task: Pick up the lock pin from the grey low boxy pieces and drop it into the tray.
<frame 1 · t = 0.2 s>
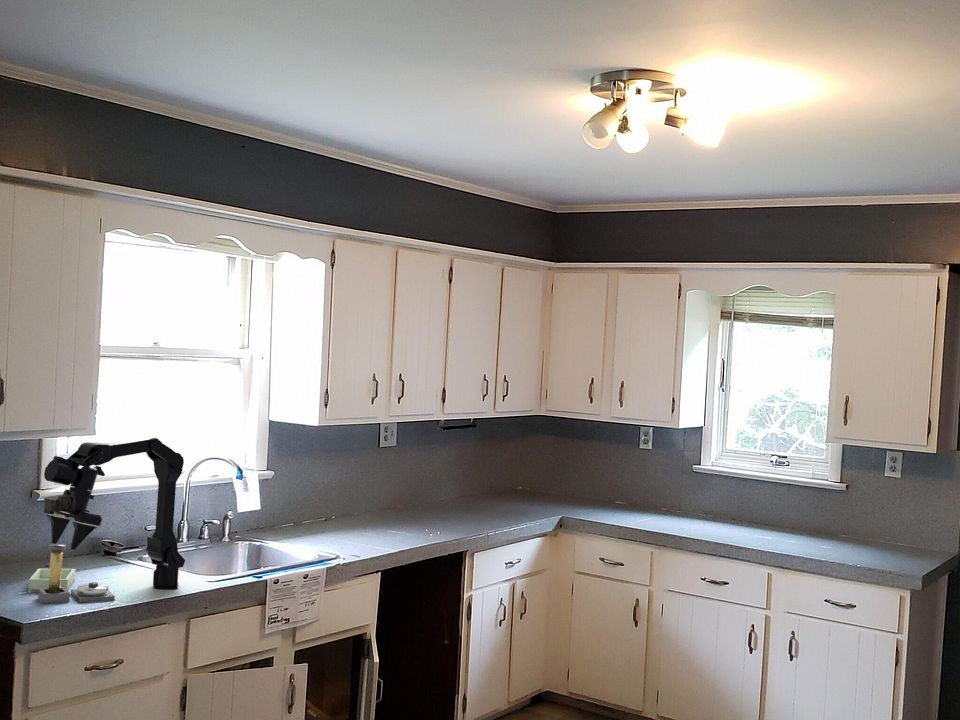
hand: (63, 546, 262), 15 cm above the table, tool tilted 15°, fingers open, 9 cm apart
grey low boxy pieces: (53, 600, 266), on the table
lock pin: (53, 600, 266), resting in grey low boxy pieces
tray: (52, 586, 281), on the table
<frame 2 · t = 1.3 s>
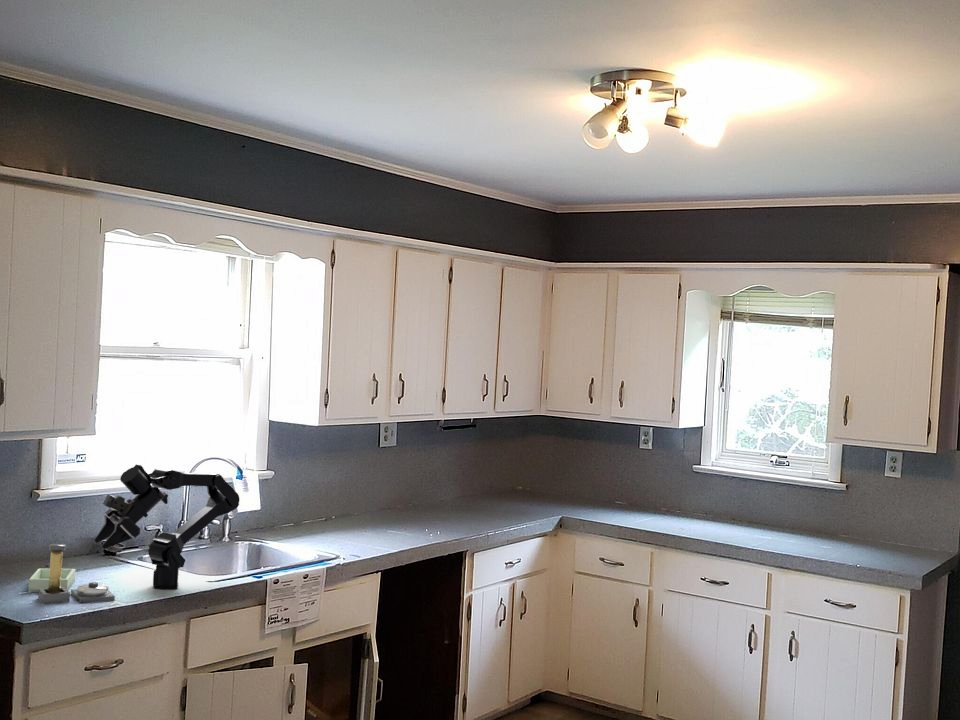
hand: (99, 544, 276), 14 cm above the table, tool tilted 45°, fingers open, 9 cm apart
nothing on the table moved.
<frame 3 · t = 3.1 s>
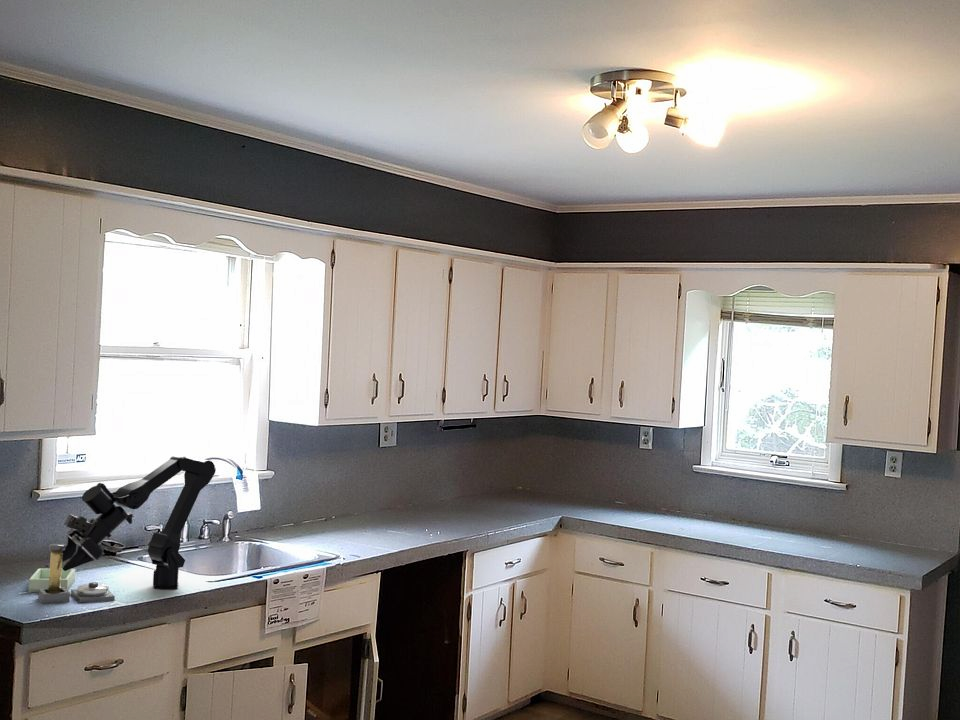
hand: (59, 566, 267), 9 cm above the table, tool tilted 45°, fingers open, 9 cm apart
nothing on the table moved.
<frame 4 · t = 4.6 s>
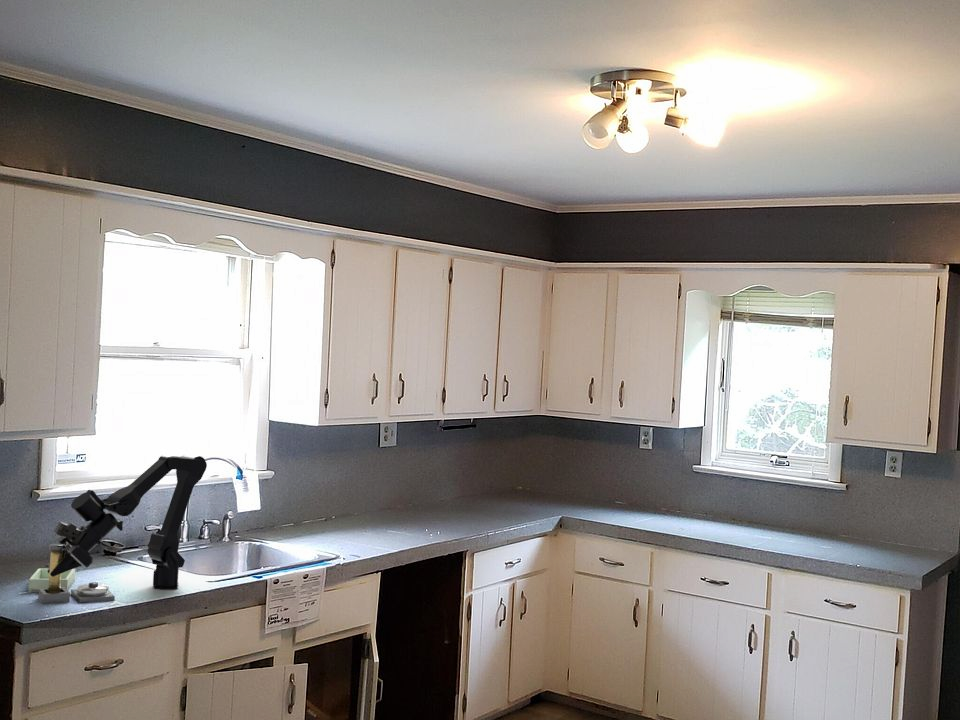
hand: (49, 574, 265), 7 cm above the table, tool tilted 45°, fingers closed on lock pin, 3 cm apart
lock pin: (53, 600, 266), resting in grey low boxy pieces, touching gripper
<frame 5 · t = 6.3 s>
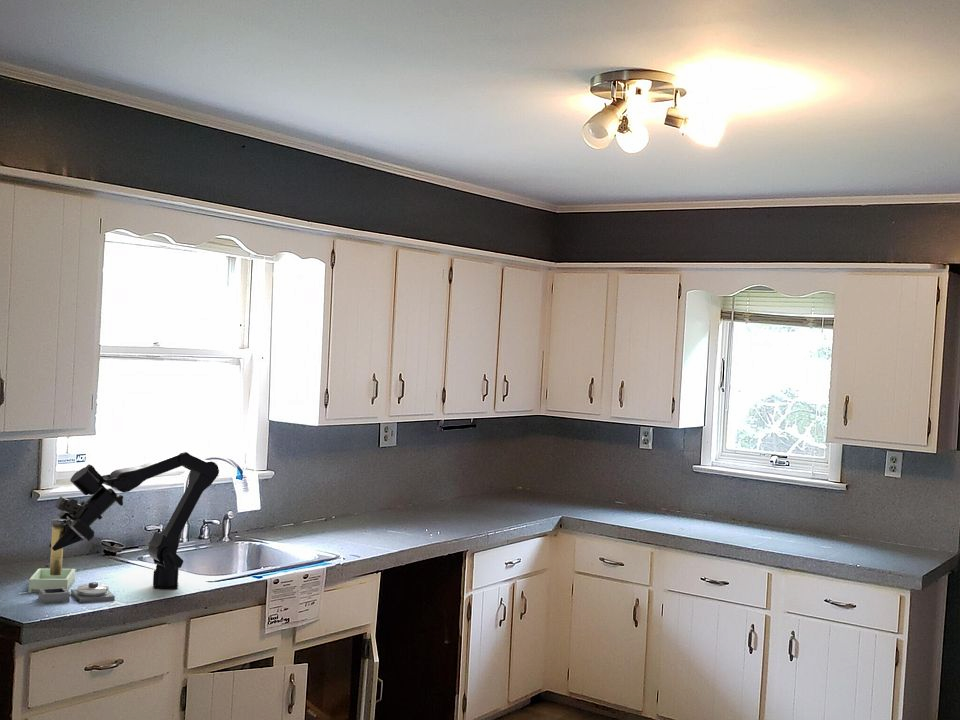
hand: (51, 548, 269), 13 cm above the table, tool tilted 45°, fingers closed on lock pin, 3 cm apart
lock pin: (55, 574, 270), point 6 cm above the table, touching gripper
when the fingers open (9 cm above the table, at t = 7.9 s): lock pin drops 2 cm, resting on tray.
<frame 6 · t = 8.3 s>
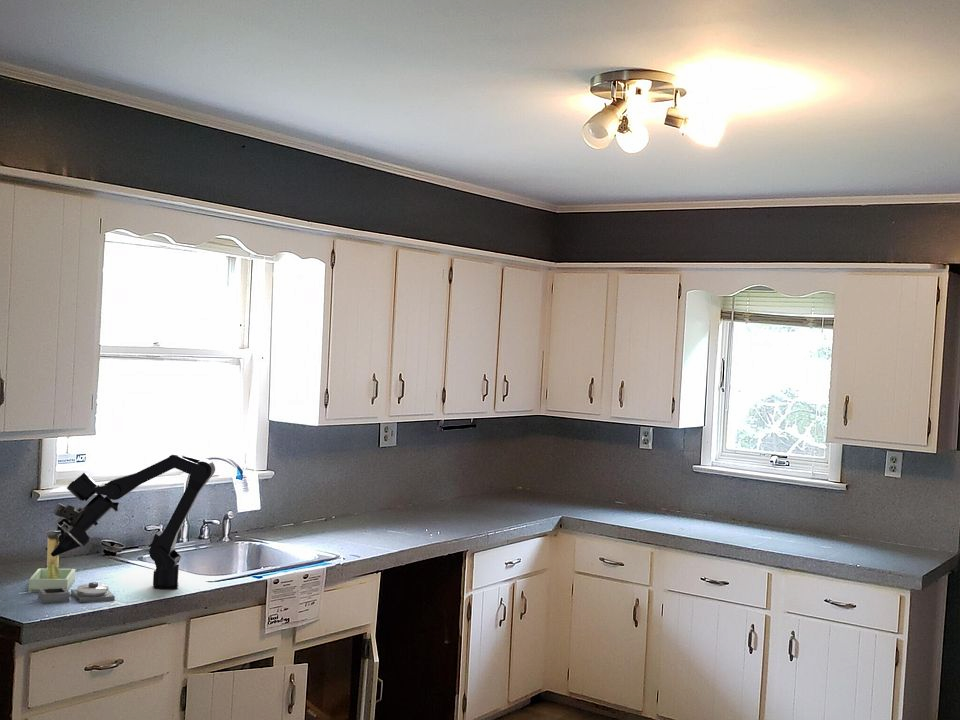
hand: (49, 552, 280), 10 cm above the table, tool tilted 45°, fingers open, 7 cm apart
lock pin: (52, 583, 281), point 1 cm above the table, touching tray
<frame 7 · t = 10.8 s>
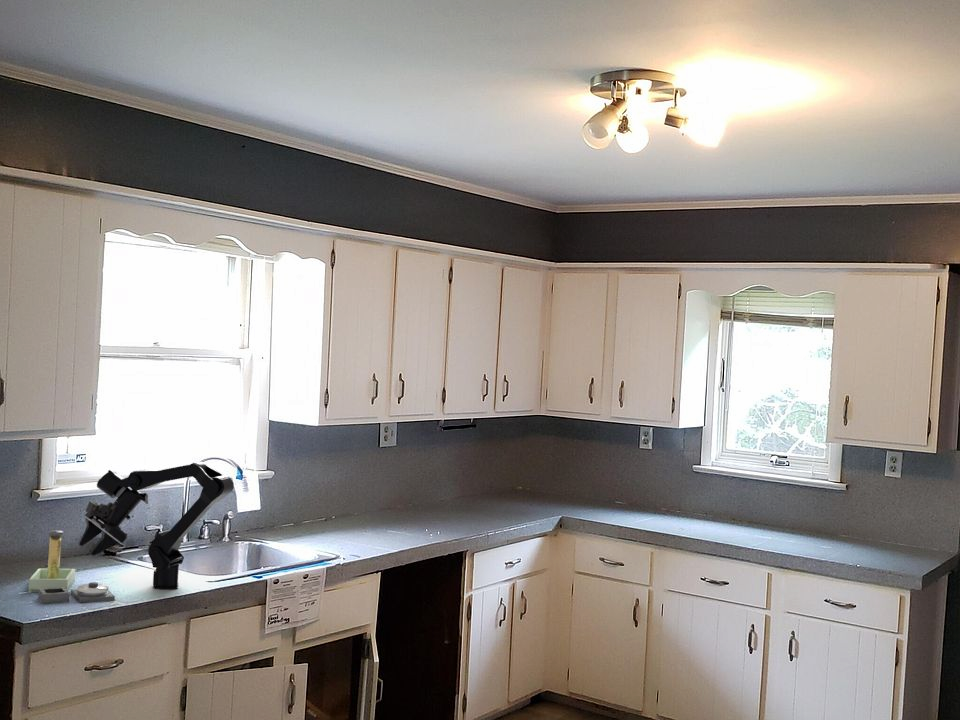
hand: (85, 549, 286), 10 cm above the table, tool tilted 40°, fingers open, 9 cm apart
nothing on the table moved.
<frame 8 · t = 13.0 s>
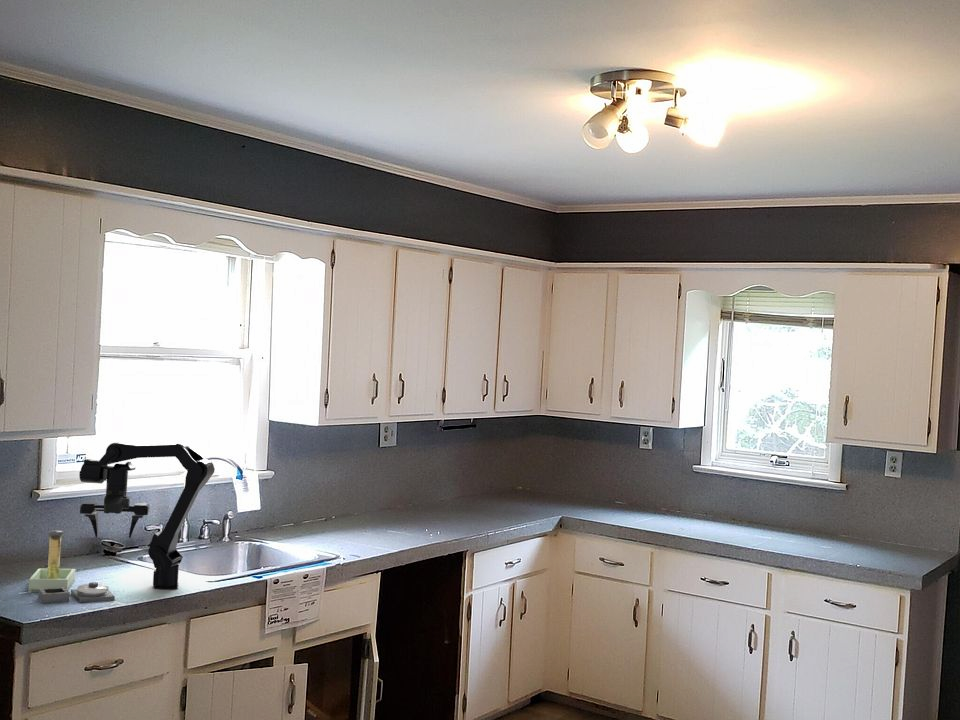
hand: (113, 537, 290), 13 cm above the table, tool pointing down, fingers open, 9 cm apart
nothing on the table moved.
at the end: lock pin inside the target area on the tray (0.1 cm from its centre), point 0.8 cm above the tray's base; the gripper is holding nothing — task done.
